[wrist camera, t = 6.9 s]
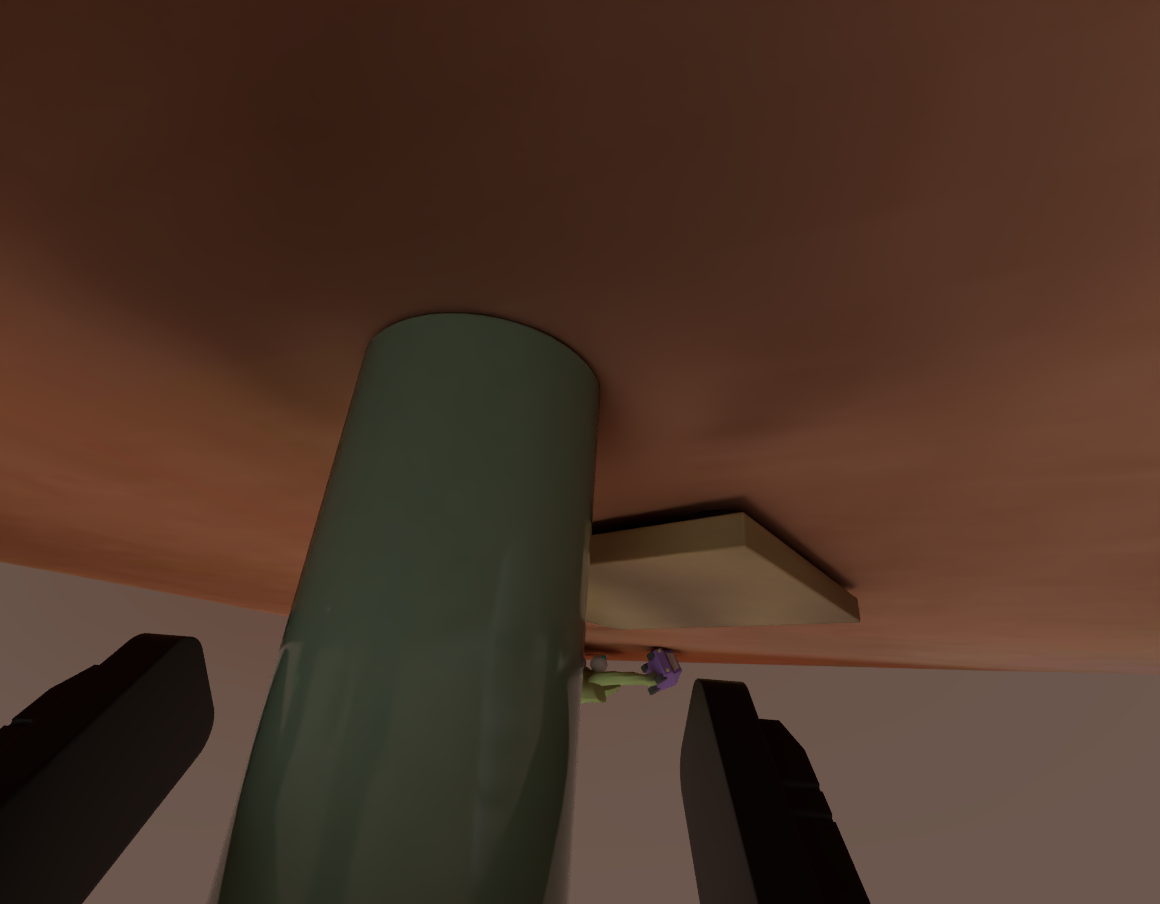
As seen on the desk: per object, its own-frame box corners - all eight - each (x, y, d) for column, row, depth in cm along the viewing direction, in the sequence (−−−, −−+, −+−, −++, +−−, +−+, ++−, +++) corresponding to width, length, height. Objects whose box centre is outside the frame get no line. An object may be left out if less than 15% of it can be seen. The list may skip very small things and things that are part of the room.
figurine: (561, 606, 32) (552, 711, 30) (709, 658, 52) (711, 723, 50) (353, 612, 41) (334, 694, 39) (549, 655, 61) (544, 710, 59)
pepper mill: (488, 454, 13) (397, 1038, 9) (317, 365, 10) (42, 1195, 6) (644, 407, 11) (627, 1191, 6) (480, 270, 8) (218, 1620, 3)
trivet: (618, 603, 30) (616, 629, 29) (447, 546, 21) (440, 582, 21) (856, 588, 23) (861, 622, 22) (742, 496, 15) (745, 547, 14)
